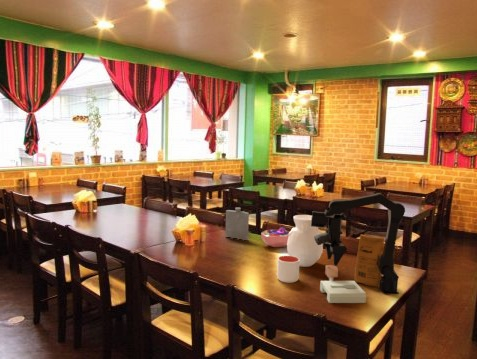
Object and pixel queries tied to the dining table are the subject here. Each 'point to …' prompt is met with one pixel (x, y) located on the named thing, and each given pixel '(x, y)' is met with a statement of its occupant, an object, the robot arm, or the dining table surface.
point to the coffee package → (368, 260)
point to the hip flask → (237, 224)
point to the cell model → (276, 237)
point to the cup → (288, 269)
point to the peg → (331, 272)
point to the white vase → (304, 241)
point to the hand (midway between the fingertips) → (332, 262)
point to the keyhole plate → (343, 292)
